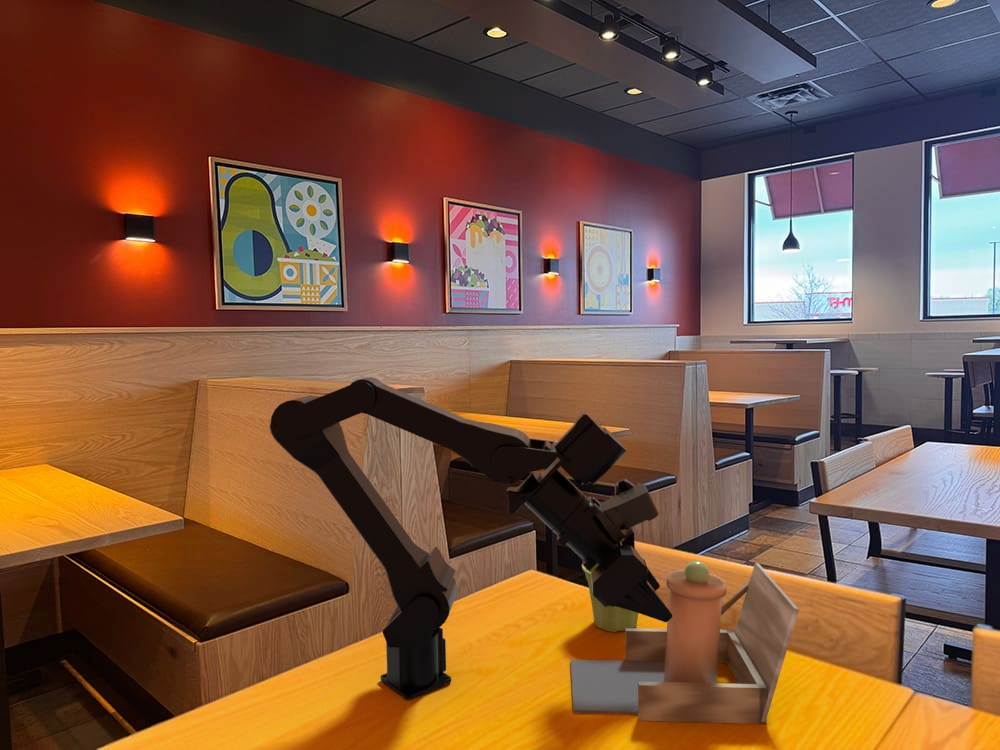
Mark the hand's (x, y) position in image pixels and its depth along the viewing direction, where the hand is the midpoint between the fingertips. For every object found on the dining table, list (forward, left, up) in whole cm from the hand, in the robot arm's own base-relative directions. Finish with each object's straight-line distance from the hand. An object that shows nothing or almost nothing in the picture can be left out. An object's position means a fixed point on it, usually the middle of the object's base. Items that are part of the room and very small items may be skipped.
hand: (663, 603), depth 83 cm
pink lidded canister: (+2, -2, -10) cm, 11 cm away
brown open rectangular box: (+4, -3, -10) cm, 11 cm away
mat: (-3, +3, -10) cm, 11 cm away
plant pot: (+10, +16, -11) cm, 21 cm away
